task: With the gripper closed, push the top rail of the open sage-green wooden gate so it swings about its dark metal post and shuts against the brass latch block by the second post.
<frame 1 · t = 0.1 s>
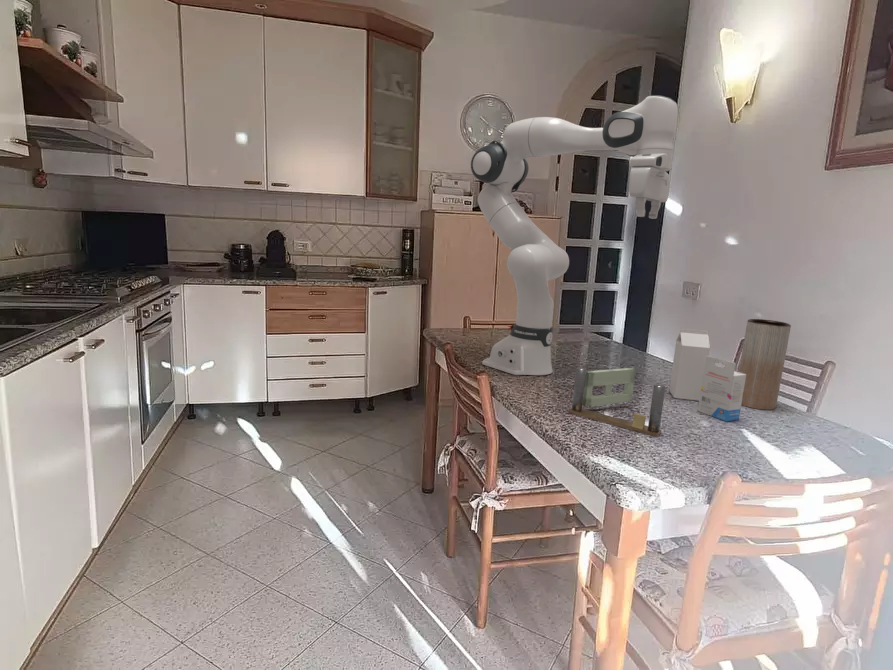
hand: (646, 217, 142), 48 cm above the table, fingers open, 8 cm apart
ink box: (717, 416, 136), on the table
milk carton: (684, 397, 151), on the table
planter: (754, 404, 148), on the table
gate: (609, 386, 135), point 6 cm above the table, hinge at 65.0°
fence: (576, 412, 132), on the table
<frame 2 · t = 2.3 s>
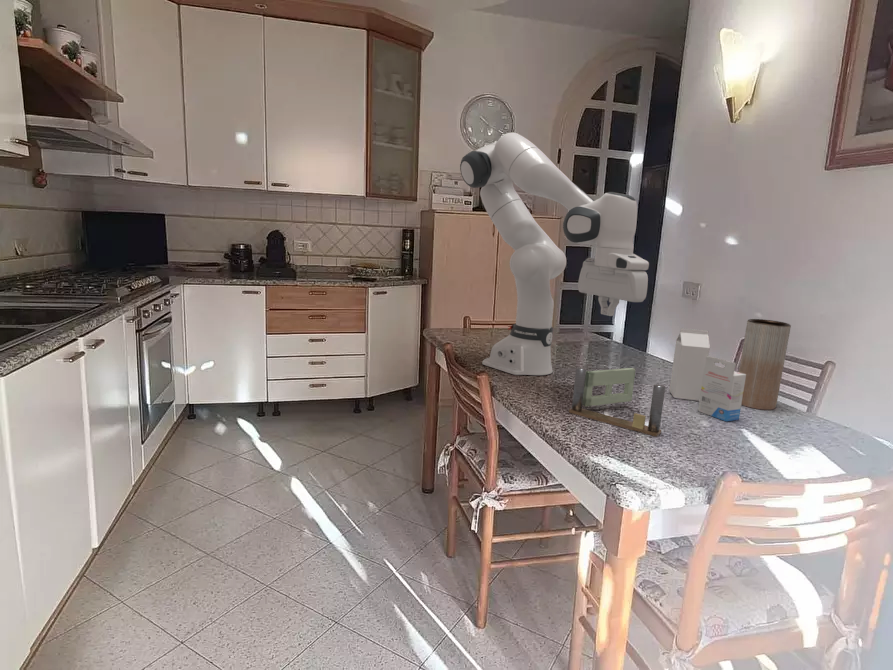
hand: (607, 315, 137), 23 cm above the table, fingers closed
nothing on the table moved.
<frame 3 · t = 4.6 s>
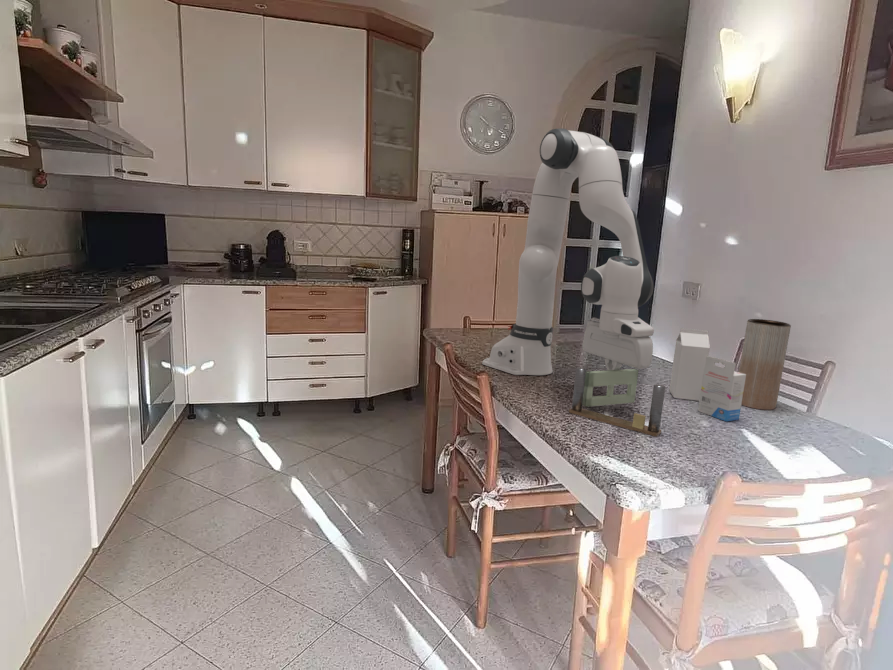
hand: (612, 377, 136), 8 cm above the table, fingers closed
gate: (610, 387, 134), point 6 cm above the table, hinge at 61.4°, touching gripper
everything else where it was.
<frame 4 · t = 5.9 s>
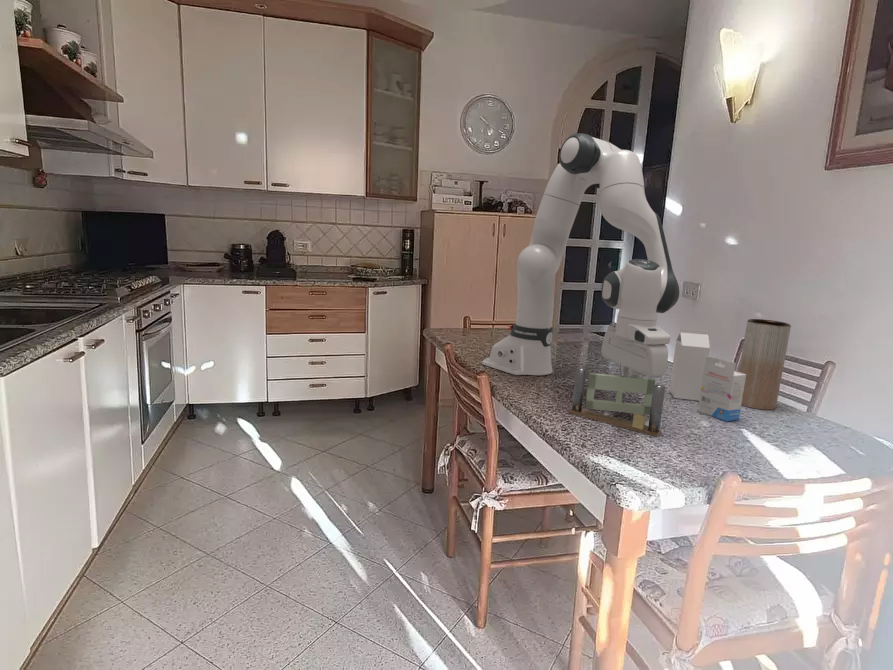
hand: (627, 385, 131), 7 cm above the table, fingers closed
gate: (619, 393, 129), point 6 cm above the table, hinge at 29.9°, touching gripper
everything else where it was.
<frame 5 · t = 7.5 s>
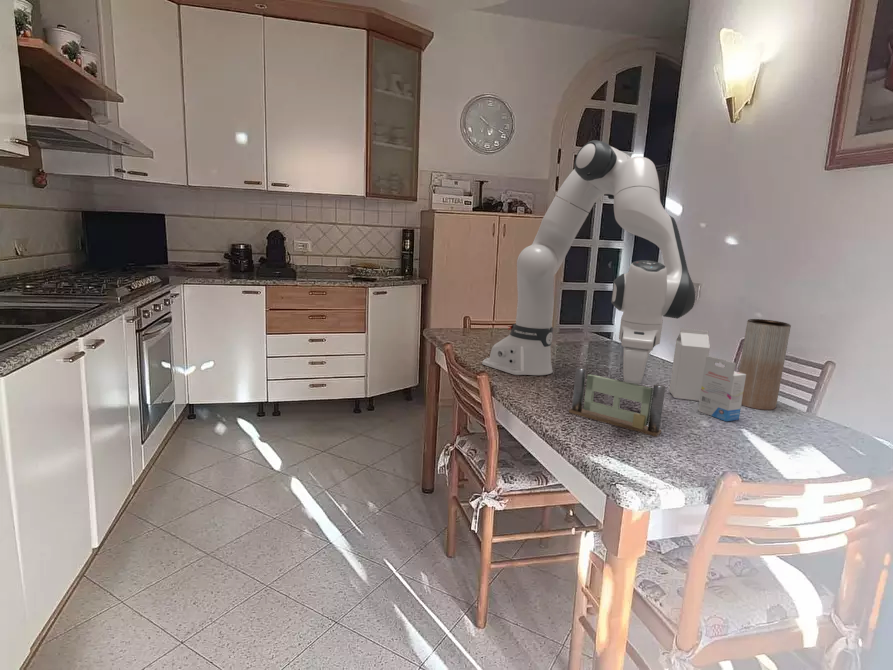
hand: (632, 392, 125), 7 cm above the table, fingers closed
gate: (616, 399, 125), point 6 cm above the table, hinge at -0.2°, touching gripper
everything else where it was.
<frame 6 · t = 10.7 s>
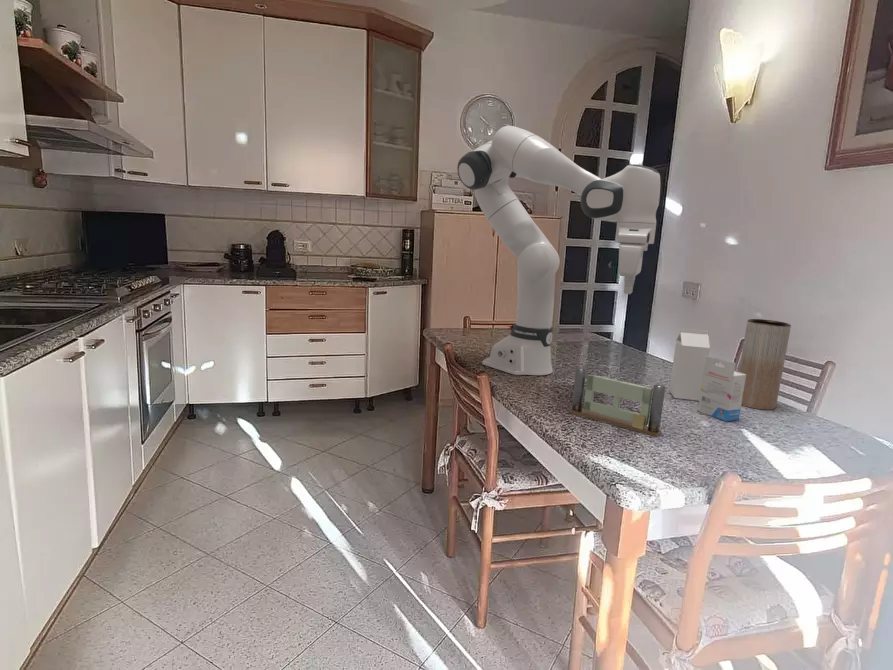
hand: (627, 293, 132), 29 cm above the table, fingers closed
gate: (616, 399, 125), point 6 cm above the table, hinge at -0.3°
everything else where it was.
at the end: gate at +0° (first picture: +65°); the gripper is holding nothing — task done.
